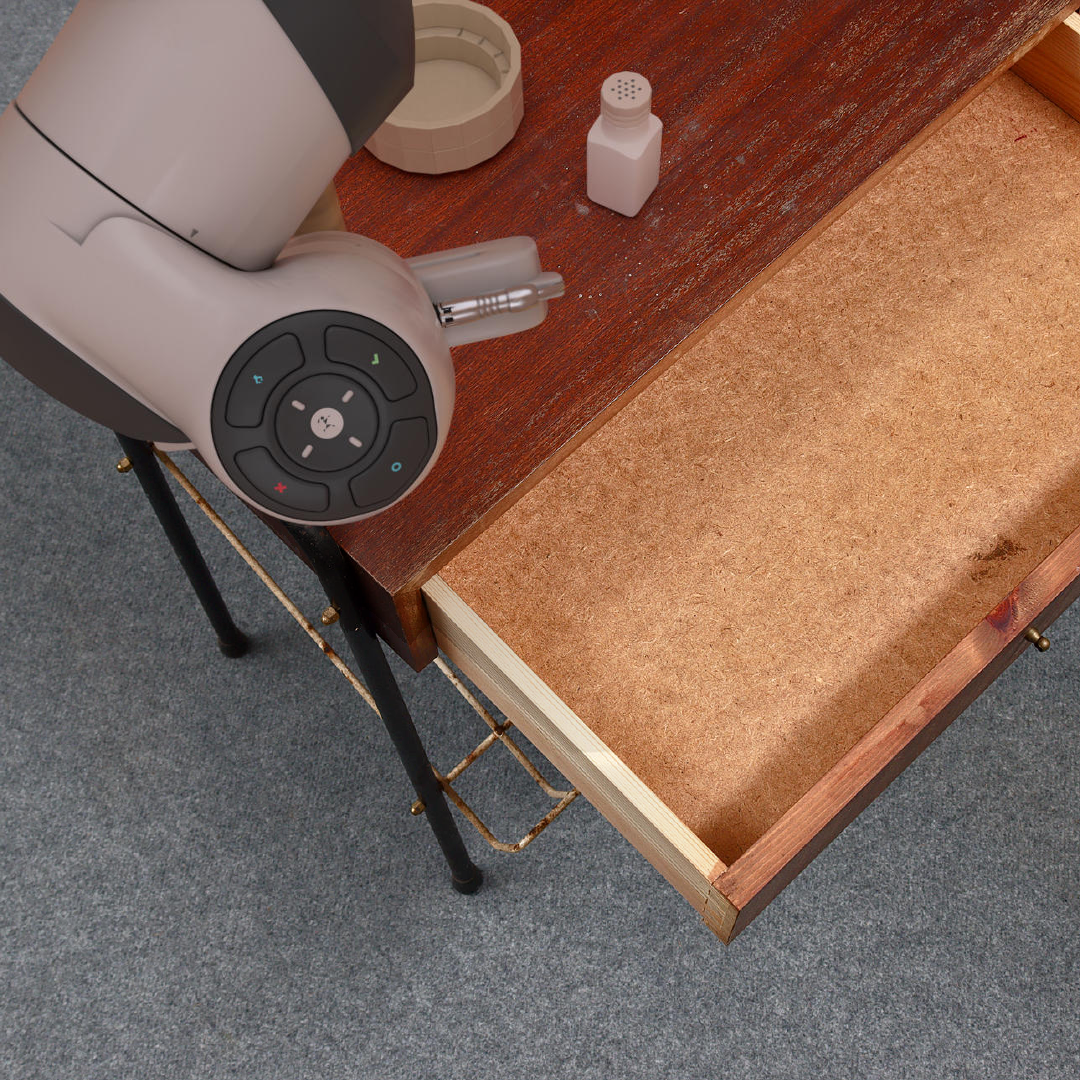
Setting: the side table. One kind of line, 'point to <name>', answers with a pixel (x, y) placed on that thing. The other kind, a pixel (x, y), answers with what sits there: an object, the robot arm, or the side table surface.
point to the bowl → (455, 91)
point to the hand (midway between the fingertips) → (339, 297)
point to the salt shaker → (624, 145)
